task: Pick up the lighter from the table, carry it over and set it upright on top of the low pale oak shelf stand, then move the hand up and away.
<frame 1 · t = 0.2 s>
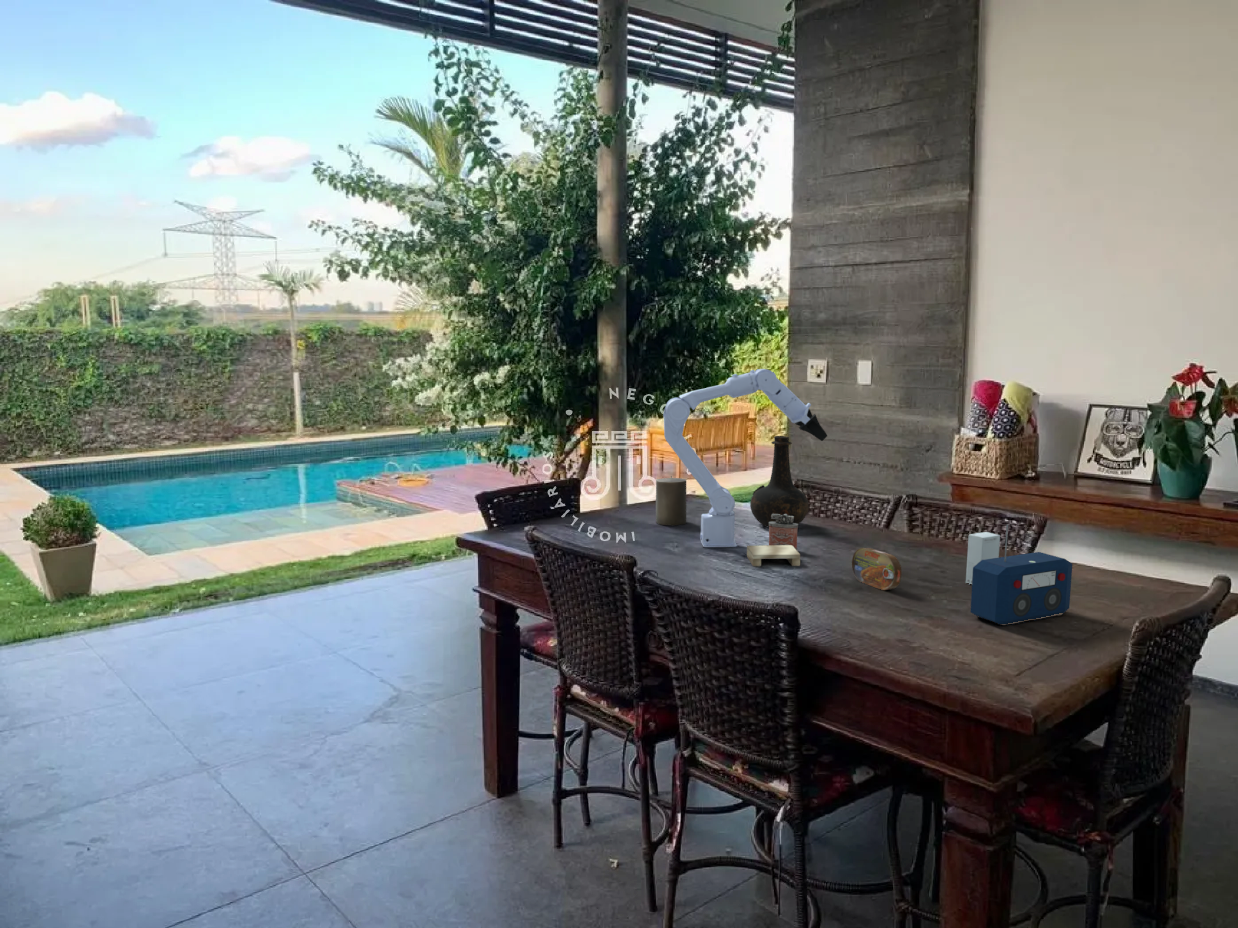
hand: (822, 436, 243), 31 cm above the table, tool tilted 45°, fingers open, 7 cm apart
lighter: (782, 550, 241), on the table
skincare box: (981, 584, 207), on the table
shelf stand: (772, 561, 229), on the table
tin: (875, 586, 207), on the table
pillar candle: (670, 523, 277), on the table
radio: (1020, 617, 183), on the table
dark brown vase: (778, 526, 272), on the table
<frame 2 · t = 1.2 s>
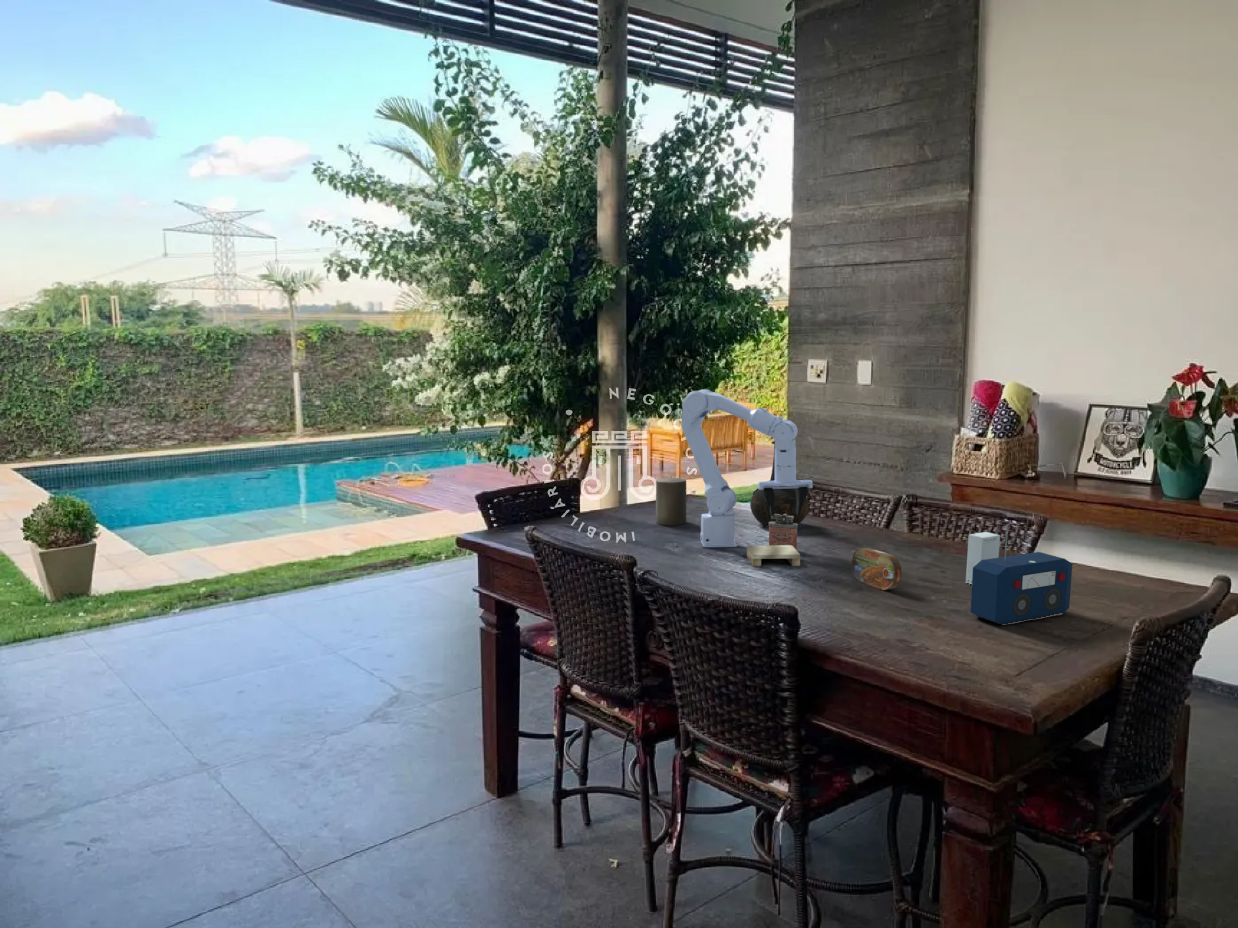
hand: (785, 514, 239), 10 cm above the table, tool pointing down, fingers open, 7 cm apart
lighter: (782, 550, 241), on the table, touching gripper
everything else where it was.
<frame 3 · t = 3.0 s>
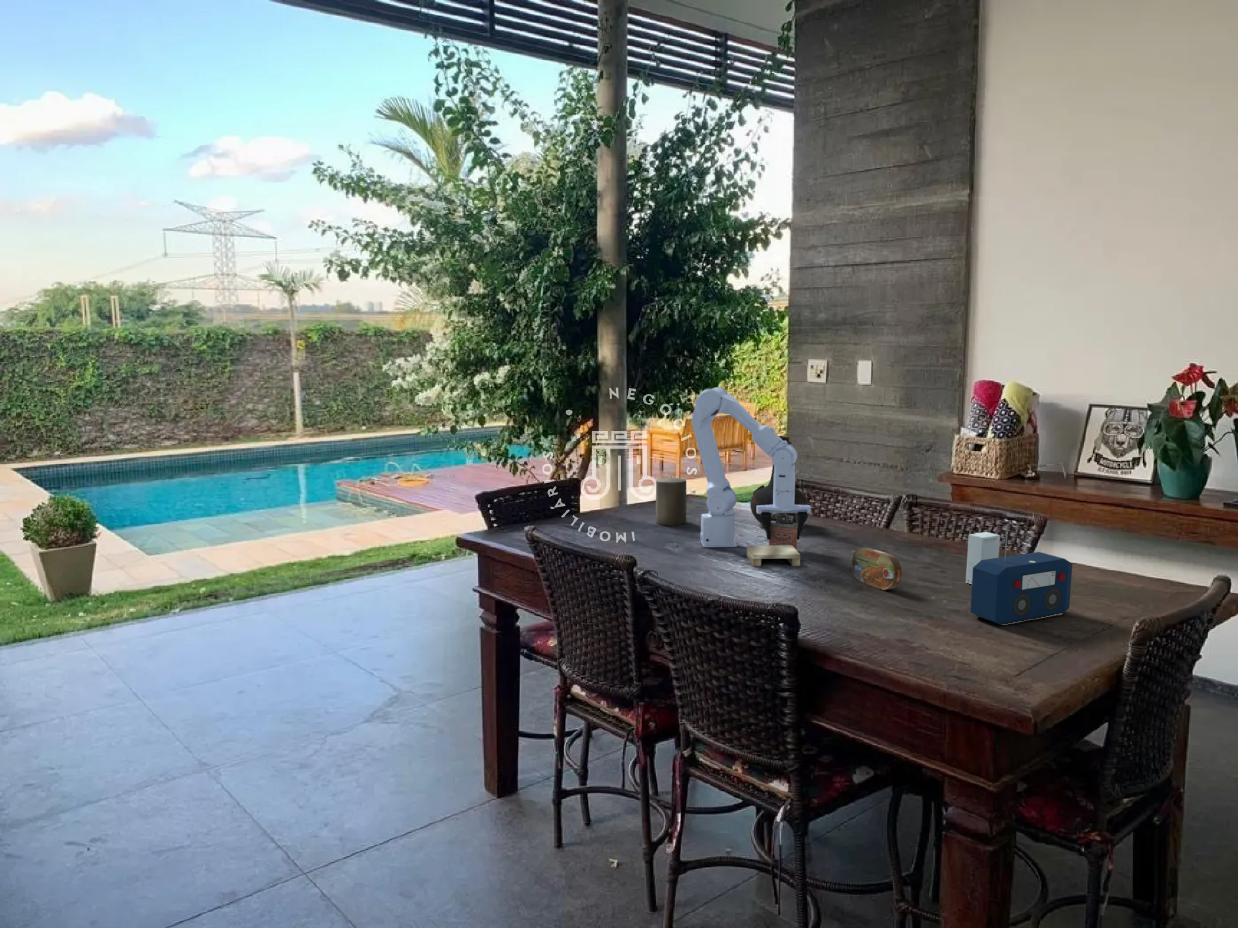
hand: (782, 538, 240), 3 cm above the table, tool pointing down, fingers closed on lighter, 7 cm apart
lighter: (782, 550, 241), on the table, touching gripper
everything else where it was.
when the fingers open (10 cm above the table, at t = 4.0 s): lighter drops 3 cm, resting on shelf stand.
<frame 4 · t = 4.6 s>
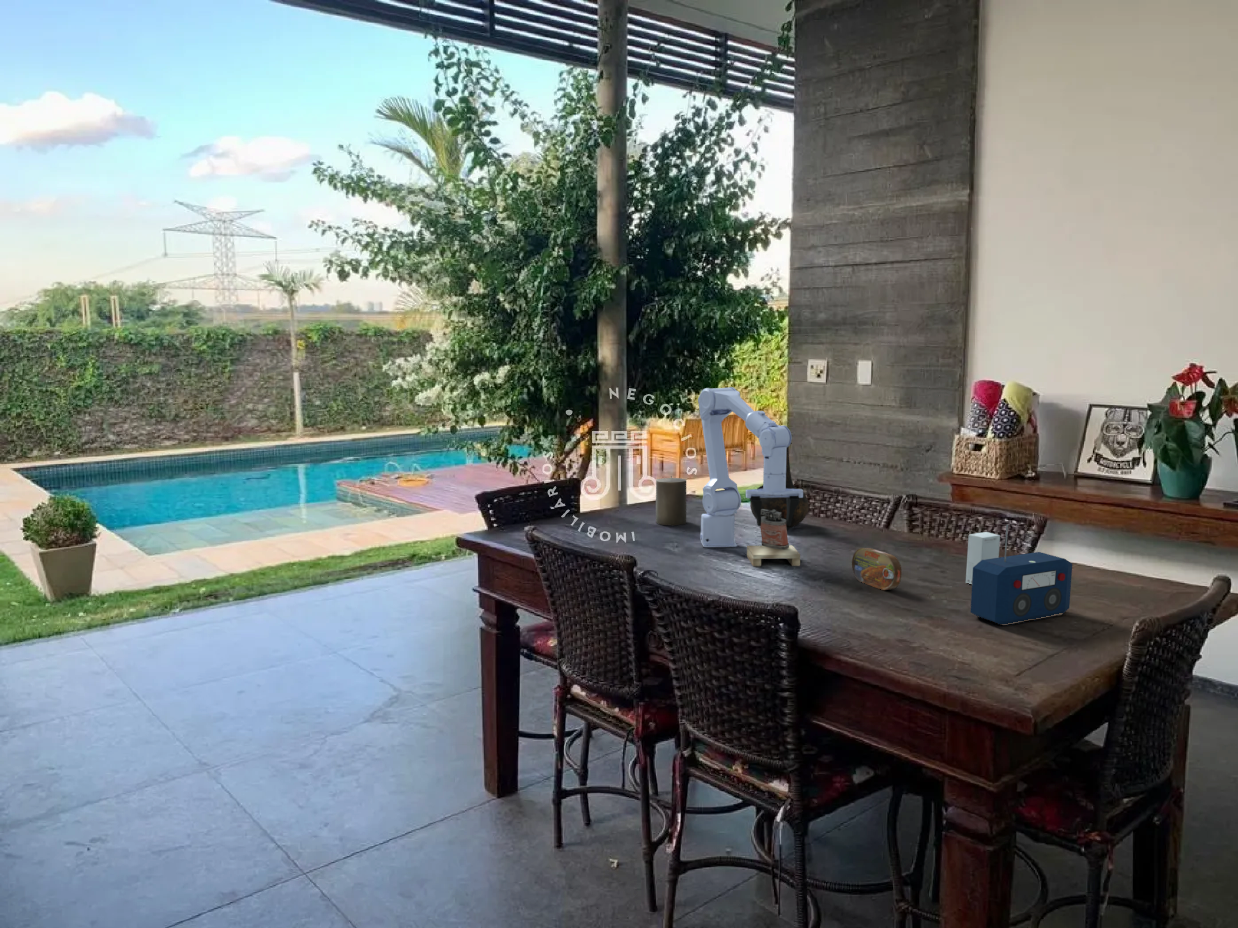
hand: (773, 524, 228), 10 cm above the table, tool pointing down, fingers open, 7 cm apart
lighter: (775, 546, 232), point 3 cm above the table, touching gripper, shelf stand
everything else where it was.
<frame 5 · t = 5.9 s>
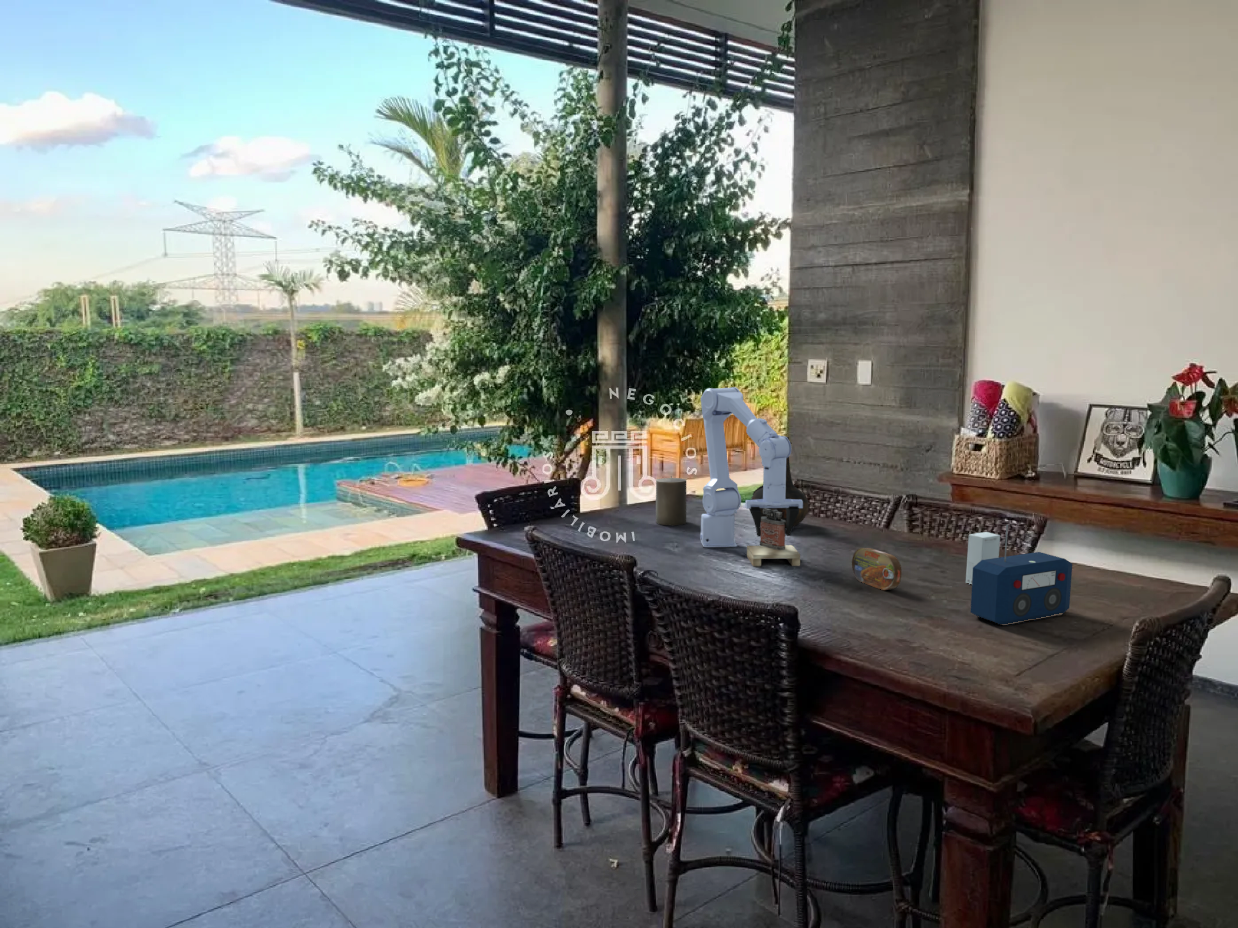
hand: (773, 535, 228), 7 cm above the table, tool pointing down, fingers open, 7 cm apart
lighter: (772, 547, 232), point 3 cm above the table, touching shelf stand
everything else where it was.
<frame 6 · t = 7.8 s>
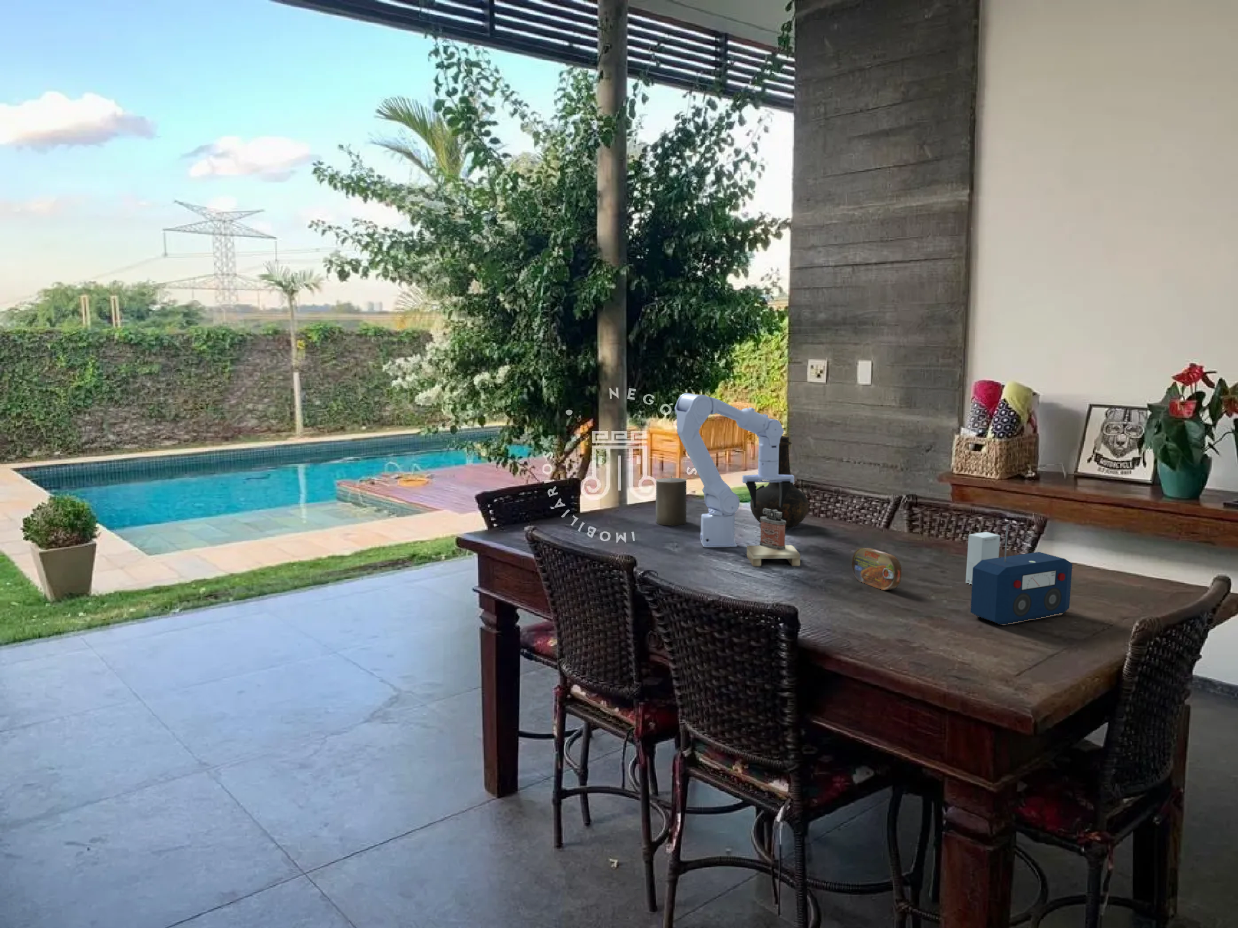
hand: (767, 507, 252), 9 cm above the table, tool pointing down, fingers open, 7 cm apart
nothing on the table moved.
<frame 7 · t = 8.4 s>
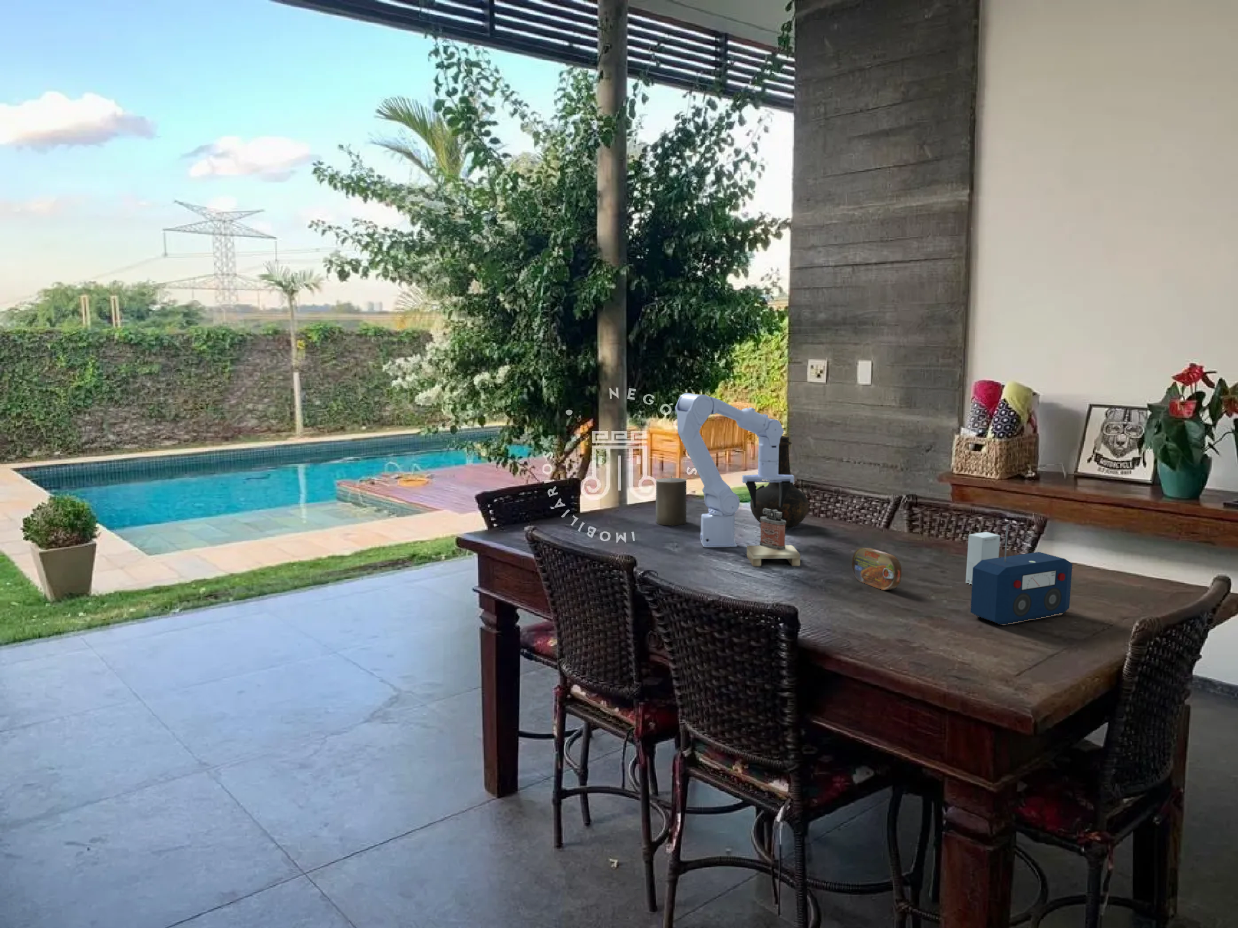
hand: (767, 507, 252), 9 cm above the table, tool pointing down, fingers open, 7 cm apart
nothing on the table moved.
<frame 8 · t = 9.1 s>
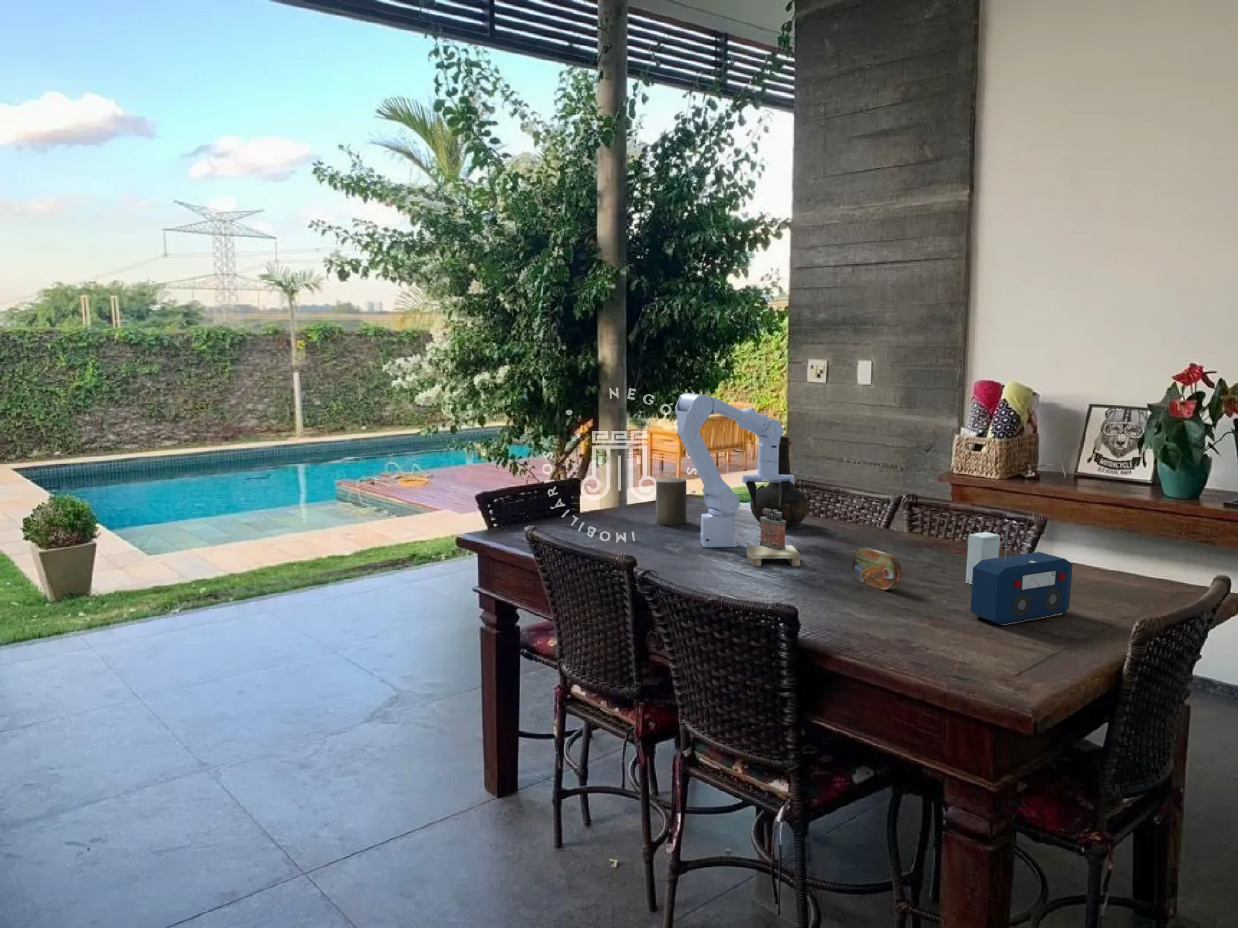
hand: (767, 507, 252), 9 cm above the table, tool pointing down, fingers open, 7 cm apart
nothing on the table moved.
at the end: lighter inside the target area on the shelf stand (3.3 cm from its centre), point 2.8 cm above the shelf stand's base; lighter tilted 0°; the gripper is holding nothing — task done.
